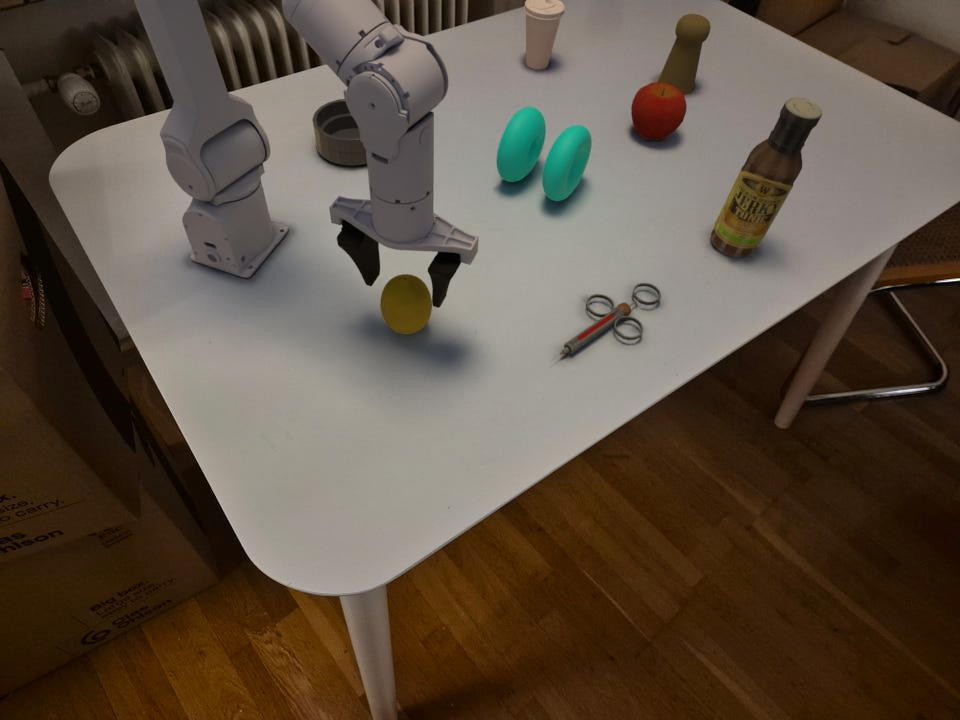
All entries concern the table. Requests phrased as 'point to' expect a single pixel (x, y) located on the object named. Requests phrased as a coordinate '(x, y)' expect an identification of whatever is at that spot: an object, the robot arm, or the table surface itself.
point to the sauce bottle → (765, 181)
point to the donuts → (525, 148)
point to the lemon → (406, 304)
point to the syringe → (608, 320)
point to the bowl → (338, 134)
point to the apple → (658, 110)
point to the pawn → (685, 53)
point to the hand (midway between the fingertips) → (405, 290)
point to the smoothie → (541, 30)
